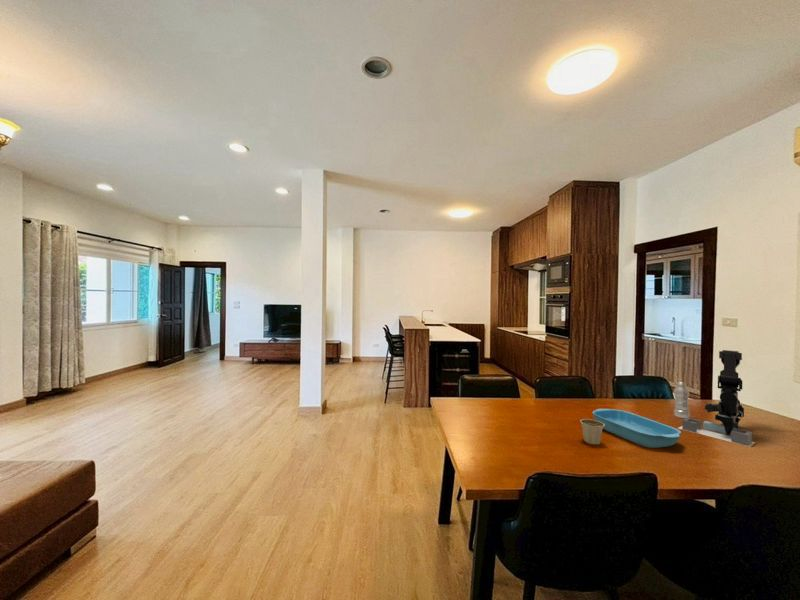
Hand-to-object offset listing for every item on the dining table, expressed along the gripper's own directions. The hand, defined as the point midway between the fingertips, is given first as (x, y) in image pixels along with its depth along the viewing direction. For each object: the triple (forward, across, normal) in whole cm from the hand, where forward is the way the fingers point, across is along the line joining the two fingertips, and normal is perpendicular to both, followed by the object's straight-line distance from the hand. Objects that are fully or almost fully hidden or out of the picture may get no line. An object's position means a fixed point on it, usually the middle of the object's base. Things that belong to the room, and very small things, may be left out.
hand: (729, 433), depth 155 cm
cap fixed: (0, +8, -12) cm, 14 cm away
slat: (+1, 0, -2) cm, 2 cm away
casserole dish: (+2, +39, -25) cm, 47 cm away
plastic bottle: (+1, -12, -21) cm, 24 cm away
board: (+1, +8, -4) cm, 9 cm away
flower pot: (+1, +65, -31) cm, 72 cm away
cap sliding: (0, +8, +6) cm, 10 cm away
